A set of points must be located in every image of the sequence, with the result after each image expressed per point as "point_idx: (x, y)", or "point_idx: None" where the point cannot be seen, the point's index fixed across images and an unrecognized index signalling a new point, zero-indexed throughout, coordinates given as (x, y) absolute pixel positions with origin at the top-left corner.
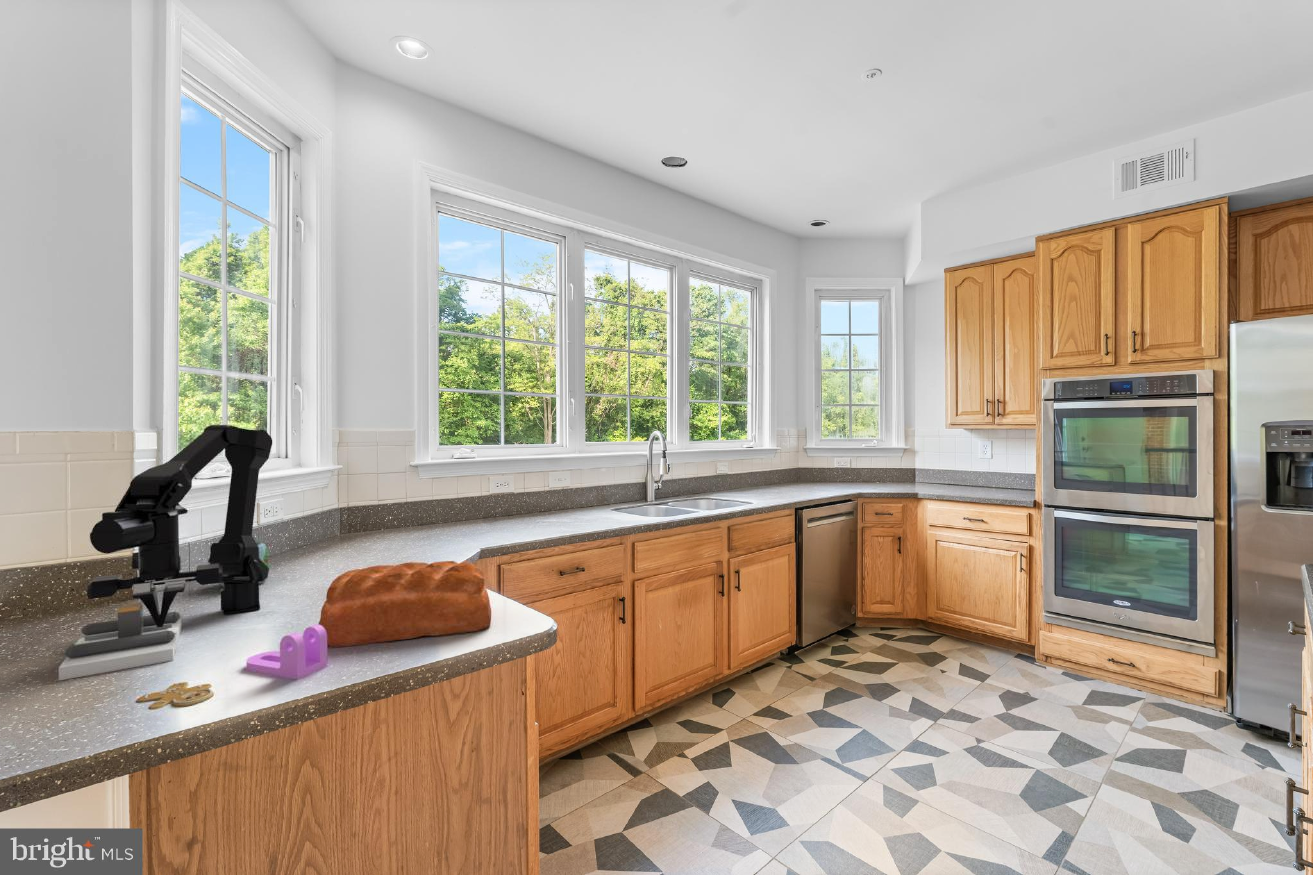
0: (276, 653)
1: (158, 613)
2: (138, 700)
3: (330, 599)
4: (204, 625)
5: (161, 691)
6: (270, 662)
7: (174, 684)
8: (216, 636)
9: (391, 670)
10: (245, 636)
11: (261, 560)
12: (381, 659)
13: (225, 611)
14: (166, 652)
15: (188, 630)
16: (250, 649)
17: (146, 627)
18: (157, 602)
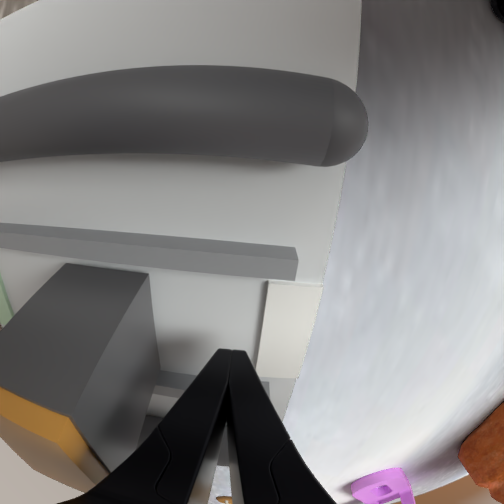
0: (395, 482)
1: (217, 454)
2: (219, 501)
3: (492, 496)
4: (434, 99)
5: None
6: (371, 496)
7: None
8: (418, 320)
9: (427, 490)
10: (454, 362)
11: None
12: (445, 476)
13: (500, 2)
14: None
15: (368, 132)
16: (404, 437)
17: (155, 263)
18: (198, 494)
